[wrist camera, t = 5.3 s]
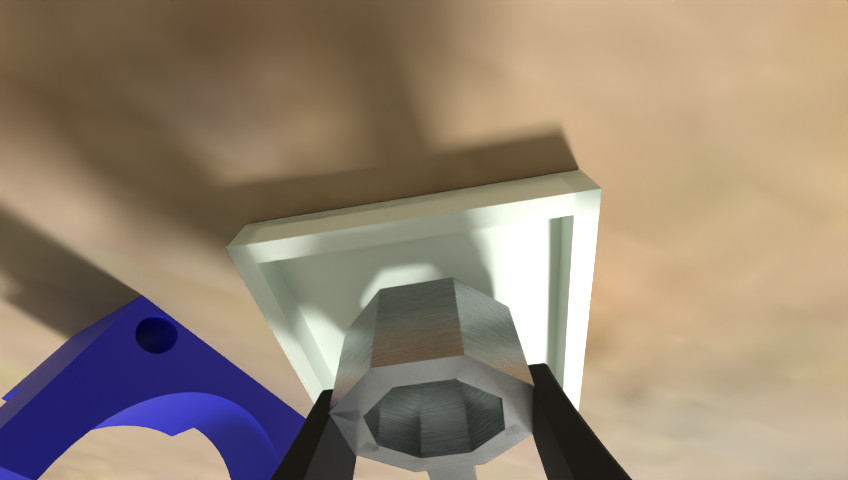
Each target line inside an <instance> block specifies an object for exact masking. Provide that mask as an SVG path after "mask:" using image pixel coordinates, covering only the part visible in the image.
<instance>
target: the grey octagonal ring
mask: <svg viewBox="0 0 848 480" xmlns="http://www.w3.org/2000/svg"><path fill="white" fill-rule="evenodd" d="M533 389H535V386H534V383H533V380H532V377H531V374H530V370H529V367H528V364H527V361H526V358H525V355H524V352H523V349H522V346H521V343H520V340H519V337H518V334H517V331H516V328H515V325H514V322H513V319H512V316H511V313H510V310H509V307H508V306H506V305H504V304H502V303H500V302H498V301H496V300H495V299H493V298H491V297H489V296H487V295H485V294H483V293H482V292H480V291H478V290H476V289H474V288H472V287H470V286H468V285H467V284H465V283H463V282H461V281H459V280H457V279H455V278H453V277H451V278H445V279H438V280H432V281H426V282H420V283H414V284H407V285H401V286H395V287H389V288H383V289H379V291H378V292H377V293H376V294H375V296H374V297H373V298H372V299H371V301H370V302H369V303H368V304H367V306H366V307H365V308H364V309H363V311H362V312H361V313H360V314H359V316H358V317H357V318H356V319H355V321H354V322H353V323H352V324H351V326H350V327H349V328H348V330H347V331H346V333H345V337H344V342H343V347H342V351H341V356H340V360H339V365H338V370H337V374H336V379H335V384H334V388H333V393H332V398H331V402H330V407H329V411H328V414H329V415H331V416H332V418H333V420H334V421H335V423H336V425H337V426H338V428H339V429H340V431H341V433H342V434H343V436H344V438H345V439H346V441H347V443H348V444H349V446H350V448H351V449H352V451H353V453H354V454H355V455H357V456H361V457H364V458H368V459H371V460H375V461H378V462H382V463H385V464H389V465H392V466H396V467H399V468H403V469H406V470H410V471H413V472H421V471H427V472H428V475H429V477H430V480H477V476H476V469H475V465H481V464H486V463H488V462H489V461H491V460H492V459H494V458H495V457H497V456H499V455H500V454H502V453H503V452H505V451H506V450H508V449H510V448H511V447H513V446H514V445H516V444H517V443H519V442H520V441H522V440H524V439H525V438H527V437H528V436H530V435H531V434H533Z"/></svg>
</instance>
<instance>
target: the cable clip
mask: <svg viewBox="0 0 848 480" xmlns="http://www.w3.org/2000/svg"><path fill="white" fill-rule="evenodd" d="M1 399H3V400H5V401H7V402H6V403H5V404H4V405H2V406H1V407H0V480H37V479H38V478H39V477H40V476H41V475H42V474H43V473H44V472H45V471H46V470H47V469H48V468H49V467H50V465H51V464H52V463H53V462H54V461H55V460H56V459H57V458H58V457H60V456H61V455H62V454H63V453H64V452H65V451H66V450H67V449H68V448H69V447H70V446H71V445H73V444H74V443H75V442H76V441H78V440H79V439H80V438H81V437H83V436H84V435H85V434H86V433H88V432H89V431H90V430H93V429H98V428H103V427H109V426H122V425H124V426H141V427H147V428H151V429H155V430H158V431H161V432H163V433H166V434H168V435H170V436H174V435H177V434H179V433H181V432H184V431H186V430H189V429H191V428H193V427H194V428H196V429H198V430H199V431H200V432H201V433H203V434H204V435H205V436H206V437H207V438H208V439H209V440H210V441H211V442H212V443H213V444H214V445H215V447H216V448H217V449H218V451H219V452H220V454H221V456H222V458H223V459H224V462H225V464H226V466H227V469H228V471H229V474H230V478H231V480H270V478H271V477H272V475H273V474H274V472H275V470H276V469H277V467H278V466H279V464H280V462H281V461H282V459H283V457H284V456H285V454H286V452H287V451H288V449H289V448H290V446H291V444H292V443H293V441H294V439H295V438H296V436H297V434H298V432H299V431H300V429H301V427H302V425H303V424H304V422H305V420H306V419H305V418H304V417H303V416H301V415H300V414H299V413H297V412H296V411H295V410H294V409H292V408H291V407H290V406H288V405H287V404H286V403H284V402H283V401H282V400H280V399H279V398H278V397H276V396H275V395H274V394H272V393H271V392H270V391H268V390H267V389H266V388H264V387H263V386H262V385H260V384H259V383H258V382H257V381H255V380H254V379H253V378H251V377H250V376H249V375H247V374H246V373H245V372H243V371H242V370H241V369H239V368H238V367H237V366H235V365H234V364H233V363H231V362H230V361H229V360H227V359H226V358H225V357H223V356H222V355H221V354H219V353H218V352H217V351H216V350H214V349H213V348H212V347H210V346H209V345H208V344H206V343H205V342H204V341H202V340H201V339H200V338H198V337H197V336H196V335H194V334H193V333H192V332H190V331H189V330H188V329H186V328H185V327H184V326H182V325H181V324H180V323H179V322H177V321H176V320H175V319H173V318H172V317H171V316H169V315H168V314H167V313H165V312H164V311H163V310H161V309H160V308H159V307H157V306H156V305H155V304H153V303H152V302H151V301H149V300H148V299H147V298H145V297H144V296H143V295H141V296H140V297H138V298H136V299H135V300H133V301H131V302H130V303H128V304H126V305H125V306H123V307H121V308H120V309H118V310H116V311H115V312H113V313H111V314H109V315H108V316H106V317H104V318H103V319H101V320H99V321H98V322H96V323H94V324H93V325H91V326H89V327H88V328H86V329H84V330H83V331H81V332H79V333H78V334H76V335H74V336H72V337H71V338H70V339H69V340H68V341H67V342H66V343H64V344H63V345H62V346H61V347H60V348H59V349H58V350H56V351H55V352H54V353H53V354H52V355H51V356H50V357H48V358H47V359H46V360H45V361H44V362H43V363H42V364H40V365H39V366H38V367H37V368H36V369H35V370H34V371H32V372H31V373H30V374H29V375H28V376H27V377H26V378H24V379H23V380H22V381H21V382H20V383H19V384H17V385H16V386H15V387H14V388H13V389H12V390H11V391H9V392H8V393H7V394H6V395H5V396H4V397H3V398H1Z"/></svg>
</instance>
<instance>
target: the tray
mask: <svg viewBox="0 0 848 480" xmlns="http://www.w3.org/2000/svg"><path fill="white" fill-rule="evenodd" d="M601 192H602V188H601V187H600V186H598V185H597V184H596V183H595V182H594V181H593V180H592V179H590V178H589V177H588V176H587V175H586V174H585V173H584V172H582V171H581V170H574V171H568V172H562V173H555V174H549V175H543V176H537V177H531V178H525V179H519V180H513V181H507V182H500V183H494V184H488V185H482V186H476V187H470V188H464V189H458V190H452V191H445V192H439V193H433V194H427V195H421V196H415V197H409V198H403V199H397V200H390V201H384V202H378V203H372V204H366V205H360V206H354V207H348V208H342V209H335V210H329V211H323V212H317V213H311V214H305V215H299V216H293V217H287V218H280V219H274V220H268V221H262V222H256V223H250V224H246V225H245V227H244V228H243V229H242V230H241V231H240V232H239V233H238V234H237V235H236V236H235V238H234V239H233V240H232V241H231V242H230V243H229V244H228V245H227V246H226V248H225V249H226V251H227V252H228V254H229V256H230V258H231V259H232V261H233V263H234V265H235V266H236V268H237V270H238V272H239V273H240V275H241V277H242V279H243V280H244V282H245V284H246V286H247V287H248V289H249V291H250V293H251V294H252V296H253V298H254V300H255V301H256V303H257V305H258V307H259V308H260V310H261V312H262V314H263V315H264V317H265V319H266V321H267V322H268V324H269V326H270V328H271V329H272V331H273V333H274V335H275V336H276V338H277V340H278V342H279V343H280V345H281V347H282V349H283V350H284V352H285V354H286V356H287V357H288V359H289V361H290V363H291V364H292V366H293V368H294V370H295V371H296V373H297V375H298V377H299V378H300V380H301V382H302V384H303V385H304V387H305V389H306V391H307V392H308V394H309V396H310V398H311V399H312V401H313V403H314V404H315V402H316V401H317V399H318V397H319V395H320V393H321V392H322V391H323V390H328V389H333V388H334V384H335V379H336V374H337V370H338V365H339V360H340V356H341V351H342V347H343V342H344V337H345V333H346V331H347V330H348V328H349V327H350V326H351V324H352V323H353V322H354V321H355V319H356V318H357V317H358V316H359V314H360V313H361V312H362V311H363V309H364V308H365V307H366V306H367V304H368V303H369V302H370V301H371V299H372V298H373V297H374V296H375V294H376V293H377V292H378V291H379V289H383V288H389V287H395V286H401V285H407V284H414V283H420V282H426V281H432V280H438V279H445V278H451V277H453V278H455V279H457V280H459V281H461V282H463V283H465V284H467V285H468V286H470V287H472V288H474V289H476V290H478V291H480V292H482V293H483V294H485V295H487V296H489V297H491V298H493V299H495V300H496V301H498V302H500V303H502V304H504V305H506V306H508V307H509V310H510V313H511V316H512V319H513V322H514V325H515V328H516V331H517V334H518V337H519V340H520V343H521V346H522V349H523V352H524V355H525V358H526V361H527V364H528V365H532V364H540V363H545V364H547V365H548V366H549V368H550V370H551V372H552V373H553V375H554V377H555V378H556V380H557V382H558V383H559V385H560V386H561V388H562V389H563V391H564V392H565V394H566V395H567V397H568V398H569V400H570V401H571V403H572V404H573V405H574V407H575V408H576V410H577V411H578V410H579V400H580V391H581V381H582V372H583V362H584V353H585V343H586V334H587V324H588V315H589V305H590V296H591V286H592V277H593V267H594V258H595V248H596V239H597V229H598V220H599V211H600V201H601Z"/></svg>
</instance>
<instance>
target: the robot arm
mask: <svg viewBox="0 0 848 480" xmlns="http://www.w3.org/2000/svg"><path fill="white" fill-rule="evenodd" d="M528 367H529V370H530V374H531V377H532V380H533V383H534V386H535V389H533V436H534V440H535V443H536V446H537V449H538V452H539V455H540V458H541V461H542V464H543V467H544V470H545V473H546V476H547V479H548V480H632V479H631V478H630V477H629V475H628V474H627V473H626V472H625V471H624V470H623V468H622V467H621V466H620V465H619V464H618V462H617V461H616V460H615V459H614V458H613V456H612V455H611V454H610V453H609V451H608V450H607V449H606V448H605V446H604V445H603V444H602V443H601V441H600V440H599V439H598V438H597V436H596V435H595V434H594V432H593V431H592V430H591V428H590V427H589V426H588V424H587V423H586V422H585V421H584V419H583V418H582V417H581V415H580V414H579V412H578V411H577V410H576V408H575V407H574V405H573V404H572V403H571V401H570V400H569V398H568V397H567V395H566V394H565V392H564V391H563V389H562V388H561V386H560V385H559V383H558V382H557V380H556V378H555V377H554V375H553V373H552V372H551V370H550V368H549V366H548V365H547V364H545V363H540V364H532V365H528ZM332 393H333V389H328V390H323V391H322V392H321V393H320V395H319V397H318V399H317V401H316V402H315V404H314V406H313V408H312V409H311V411H310V413H309V415H308V417H307V418H306V420H305V422H304V424H303V425H302V427H301V429H300V431H299V432H298V434H297V436H296V438H295V439H294V441H293V443H292V444H291V446H290V448H289V449H288V451H287V452H286V454H285V456H284V457H283V459H282V461H281V462H280V464H279V466H278V467H277V469H276V470H275V472H274V474H273V475H272V477H271V478H270V480H353V474H354V469H355V463H356V455H355V454H354V453H353V451H352V449H351V448H350V446H349V444H348V443H347V441H346V439H345V438H344V436H343V434H342V433H341V431H340V429H339V428H338V426H337V425H336V423H335V421H334V420H333V418H332V416H331V415H329V414H328V411H329V407H330V402H331V398H332Z"/></svg>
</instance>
